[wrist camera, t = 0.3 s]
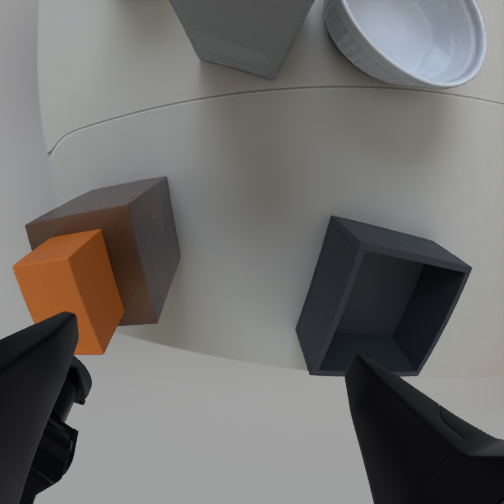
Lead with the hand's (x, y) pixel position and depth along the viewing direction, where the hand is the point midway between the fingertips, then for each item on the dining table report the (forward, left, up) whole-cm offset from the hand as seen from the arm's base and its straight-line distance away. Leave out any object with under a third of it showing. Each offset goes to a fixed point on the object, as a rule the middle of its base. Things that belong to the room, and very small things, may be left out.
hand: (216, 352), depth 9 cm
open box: (-4, -15, -17) cm, 23 cm away
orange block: (-2, +7, -7) cm, 11 cm away
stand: (-2, +7, -17) cm, 19 cm away
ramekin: (+20, -10, -18) cm, 28 cm away
